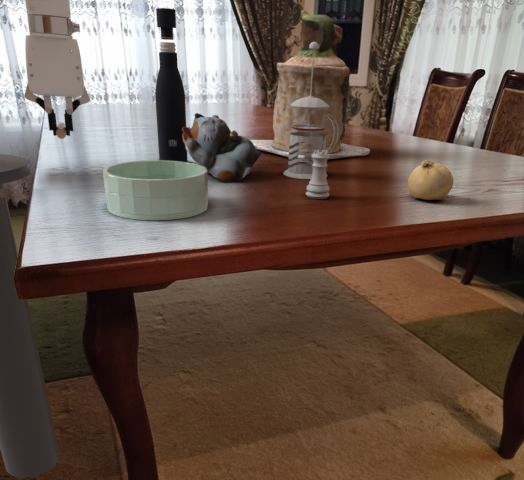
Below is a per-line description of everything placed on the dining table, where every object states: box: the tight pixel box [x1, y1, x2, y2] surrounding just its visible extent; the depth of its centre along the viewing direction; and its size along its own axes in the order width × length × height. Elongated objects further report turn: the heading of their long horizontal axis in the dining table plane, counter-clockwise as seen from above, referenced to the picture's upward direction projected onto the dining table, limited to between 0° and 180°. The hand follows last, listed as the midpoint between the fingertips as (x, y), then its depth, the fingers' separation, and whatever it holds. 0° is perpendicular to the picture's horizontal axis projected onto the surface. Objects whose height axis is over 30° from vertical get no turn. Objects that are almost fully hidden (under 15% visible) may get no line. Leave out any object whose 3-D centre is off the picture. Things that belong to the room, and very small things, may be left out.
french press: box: [282, 42, 339, 180], centre depth 108 cm, size 10×12×25 cm
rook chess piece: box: [305, 150, 330, 200], centre depth 95 cm, size 4×4×8 cm
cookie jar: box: [249, 10, 371, 161], centre depth 132 cm, size 25×25×32 cm
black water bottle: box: [154, 7, 189, 162], centre depth 114 cm, size 6×6×30 cm
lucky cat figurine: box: [182, 112, 262, 183], centre depth 108 cm, size 15×12×14 cm
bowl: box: [102, 159, 209, 221], centre depth 86 cm, size 16×16×6 cm
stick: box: [56, 122, 67, 140], centre depth 106 cm, size 10×2×2 cm
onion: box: [407, 159, 454, 201], centre depth 96 cm, size 8×8×7 cm
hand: (61, 134), depth 106 cm, fingers closed on stick, 1 cm apart
